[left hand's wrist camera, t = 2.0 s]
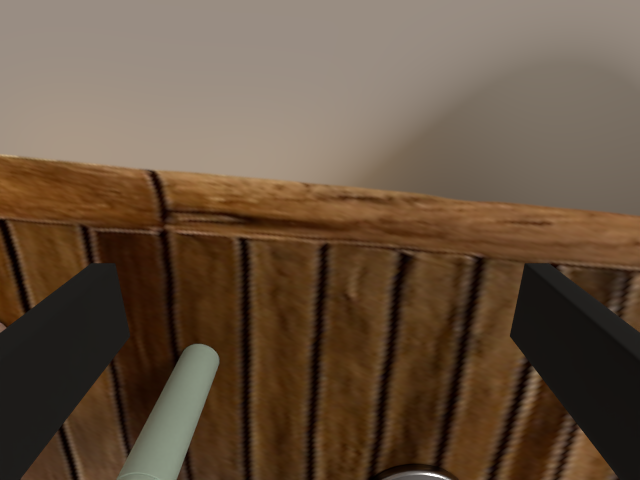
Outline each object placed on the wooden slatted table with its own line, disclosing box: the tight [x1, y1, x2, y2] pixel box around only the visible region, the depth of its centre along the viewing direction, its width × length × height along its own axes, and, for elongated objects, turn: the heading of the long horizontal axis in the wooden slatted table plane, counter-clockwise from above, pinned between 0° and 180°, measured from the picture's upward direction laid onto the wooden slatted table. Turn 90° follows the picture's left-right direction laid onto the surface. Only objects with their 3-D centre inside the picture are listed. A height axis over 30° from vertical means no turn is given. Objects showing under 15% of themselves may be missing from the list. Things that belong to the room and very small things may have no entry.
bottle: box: [116, 344, 219, 480], centre depth 37 cm, size 5×5×22 cm
